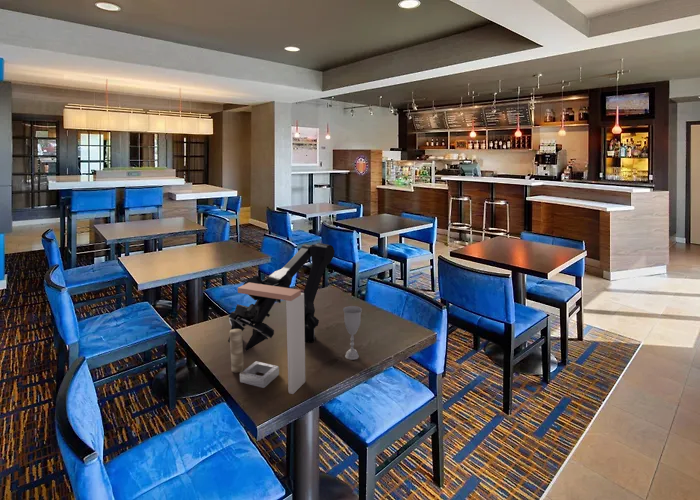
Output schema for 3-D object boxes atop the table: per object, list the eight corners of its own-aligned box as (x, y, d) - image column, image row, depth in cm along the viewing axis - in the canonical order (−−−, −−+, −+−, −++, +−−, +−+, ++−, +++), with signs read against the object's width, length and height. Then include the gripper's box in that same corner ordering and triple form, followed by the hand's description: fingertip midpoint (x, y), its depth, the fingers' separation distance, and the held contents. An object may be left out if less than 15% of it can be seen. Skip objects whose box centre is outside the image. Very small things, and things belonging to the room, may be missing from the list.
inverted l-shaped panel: (256, 370, 145) (252, 280, 138) (305, 381, 139) (304, 288, 132) (242, 381, 138) (237, 287, 131) (292, 394, 131) (290, 295, 124)
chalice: (342, 352, 159) (342, 306, 155) (360, 351, 160) (361, 305, 156) (343, 361, 152) (343, 313, 148) (362, 360, 153) (363, 313, 149)
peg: (244, 366, 148) (243, 328, 145) (242, 372, 144) (240, 333, 141) (233, 366, 148) (231, 328, 145) (230, 372, 144) (227, 333, 141)
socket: (256, 369, 146) (255, 361, 145) (279, 374, 143) (278, 366, 142) (240, 382, 138) (239, 373, 137) (263, 387, 135) (263, 379, 134)
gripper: (232, 289, 150) (205, 327, 144) (266, 301, 139) (238, 344, 133) (251, 304, 158) (226, 342, 152) (285, 317, 146) (260, 358, 140)
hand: (237, 346), depth 144 cm, fingers open, 9 cm apart
